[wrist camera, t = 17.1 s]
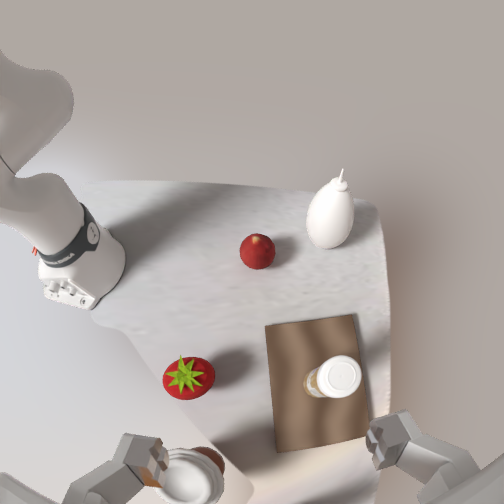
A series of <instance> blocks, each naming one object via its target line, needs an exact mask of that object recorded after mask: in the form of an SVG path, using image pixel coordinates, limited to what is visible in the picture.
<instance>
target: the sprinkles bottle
mask: <svg viewBox="0 0 504 504" xmlns="http://www.w3.org/2000/svg"><path fill="white" fill-rule="evenodd" d="M361 378H362V372H361V368H360V366H359V364H358V363H357V362H356V361H355V360H354V359H353V358H351V357H349V356H345V355H339V356H335V357H332V358H330V359H328V360H327V361H325V362H324V363H323V364H322V365H321V366H320V367H318V368H316V369H313V370H311V371H310V372H309V373H308V374H307V375H306V376H305V378H304V383H303V385H304V389H305V391H306V392H307V393H308V395H310V396H312V397H315V398H320V397H331V398H342V397H346V396H349V395H351V394H352V393H353V392H355V391H356V389H357V388H358V387H359V385H360V382H361Z"/></svg>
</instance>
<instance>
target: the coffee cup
mask: <svg viewBox="0 0 504 504" xmlns="http://www.w3.org/2000/svg"><path fill="white" fill-rule="evenodd" d="M167 451H168V454H169V466H168V469H166V470H165V471H164V474H165V475H166V479H165V483H164V487H163V488H157V487H154V489H155V491H156V493H158V495H159V496H160V497H161V498H162V499H163V500H164V501H165V502H167V503H169V504H215V503H217V502H218V500H219V498H220V497H221V495H222V493H223V492H224V478H223V473H224V470H225V463H224V461H223V458H222V456H221V455H220V454H218V453H217V452H216V451H214V450H213V449H211V448H208V447H196V448H192V449H183V448H177V449H172V450H167Z"/></svg>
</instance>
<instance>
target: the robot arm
mask: <svg viewBox="0 0 504 504" xmlns="http://www.w3.org/2000/svg"><path fill="white" fill-rule="evenodd" d="M73 106H74V99H73V93H72V89H71V87H70V85H69V83H68V81H67V80H66V79H65V78H64V77H63V76H62V75H60V74H59V73H57V72H54V71H50V70H35V69H29V68H25V67H22V66H20V65H18V64H16V63H14V62H12V61H11V60H9V59H8V58H7V57H6V56H5V55H4V54H3V53H2V51H1V50H0V223H2V224H5V225H7V226H9V227H11V228H13V229H15V230H16V231H18V232H19V233H20V234H21V235H22V236H23V237H25V238H26V239H27V240H28V241H29V242H30V243H31V244H32V245H34V248H33V251H32V253H33V252H34V250H35V255H36V253H37V251H38V252H39V254H40V256H41V257H40V261H39V267H38V275H39V278H40V280H41V281H42V282H43V291H44V296H45V297H46V298H47V299H50V300H53V301H56V302H60V303H63V304H67V305H70V306H74V307H78V308H82V309H85V310H91V309H93V308H94V307H95V305H96V304H97V302H98V301H99V299H100V298H101V297H102V296H104V295H105V294H106V293H108V292H109V291H110V290H111V289H112V288H113V287H114V286H115V285H116V283H117V282H118V281H119V279H120V277H121V275H122V273H123V270H124V266H125V251H124V249H123V247H122V245H121V244H120V243H119V242H118V241H117V240H115V239H114V238H113V237H112V236H111V234H110V232H109V231H108V230H107V229H106V228H103V227H102V226H101V225H100V224H99V223H98V222H97V221H96V220H95V219H94V218H93V216H92V215H91V214H90V212H89V211H88V209H87V208H86V207H85V206H84V205H83V204H82V203H80V202H79V201H78V200H77V199H76V197H75V196H74V194H73V193H72V191H71V190H70V188H69V187H68V185H67V184H66V183H65V181H64V179H63V178H61V177H60V176H58V175H56V174H53V173H42V174H38V175H35V176H32V177H29V178H17V177H15V175H16V173H17V172H18V171H19V170H20V169H21V168H22V167H23V166H24V165H25V164H26V163H27V162H28V161H29V160H30V159H31V158H32V157H33V156H35V154H37V153H38V152H39V151H40V150H41V149H43V148H44V147H45V146H46V145H47V144H48V143H50V141H51V140H52V139H53V138H54V137H55V136H56V135H57V133H59V131H60V130H61V129H62V128H63V127H64V126H65V125H66V124H67V123H68V122H69V121H70V119H71V116H72V112H73ZM84 302H85V304H84ZM369 426H370V429H369V430H368V431H367V433H366V445H367V448H368V451H369V452H371V453H373V454H374V455H373V457H372V461H373V463H374V466H375V468H376V471H377V470H380V469H383V468H387V467H389V466H393V465H396V466H397V467H399V468H400V469H402V470H403V471H404V472H406V473H408V474H409V475H411V476H412V477H414V478H416V479H417V480H419V481H420V482H422V483H423V484H425V486H424V487H423V488H422V489H421V491H419V493H418V494H417V497H418V499H419V502H420V504H504V453H503V454H502V455H501V456H500V457H498V458H497V459H496V460H494V461H493V462H492V463H490V464H489V465H488V466H486V467H485V468H484V469H482V470H480V469H479V467H478V466H477V464H476V462H475V461H474V459H473V458H472V456H471V455H470V453H469V452H468V451H467V450H464V449H462V448H459V447H457V446H454V445H452V444H449V443H447V442H444V441H442V440H439V439H437V438H435V437H432V436H430V435H428V434H424V435H423V434H422V432H421V431H420V429H419V428H418V426H417V424H416V423H415V421H414V420H413V418H412V417H411V415H410V413H409V412H408V410H406V409H404V410H401V411H398V412H395V413H391V414H388V415H385V416H382V417H379V418H375V419H372V420H371V421H370V424H369ZM162 444H163V442H162V441H161V439H160V438H155V437H146V436H140V435H135V434H128V433H125V434H124V435H123V436H122V437H121V440H120V442H119V445H118V447H117V449H116V452H115V454H114V456H113V459H112V461H107V462H105V463H104V464H102V465H101V466H99V467H97V468H96V469H94V470H93V471H91V472H89V473H88V474H86V475H84V476H83V477H81V478H79V479H78V480H76V481H74V482H73V483H71V485H70V487H69V489H68V491H67V493H66V495H65V498H64V500H63V502H62V504H126V503H127V502H128V501H129V500H130V499H131V498H132V497H134V496H135V495H136V494H137V493H138V492H139V491H140V490H141V489H142V488H143V487H144V486H150V487H157V488H163V487H164V483H165V479H166V475H165V474H164V471H165V470H166V469H168V466H169V454H168V451H167V450H166V448H164V447H163V446H162ZM0 504H59V503H57V502H55V501H53V500H51V499H49V498H47V497H45V496H44V495H42V494H40V493H38V492H36V491H35V490H33V489H31V488H30V487H28V486H26V485H25V484H23V483H21V482H20V481H18V480H17V479H15V478H14V477H12V476H11V475H9V474H7V473H5V472H1V473H0Z"/></svg>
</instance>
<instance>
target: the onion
mask: <svg viewBox="0 0 504 504" xmlns="http://www.w3.org/2000/svg"><path fill="white" fill-rule="evenodd" d="M275 254H276V253H275V246H274V244H273V242H272V241H271V239H270V238H269V237H267V236H265V235H262V234H257V233H256V234H251V235H250V236H248V237H247V238H246V239H245V240H244V241H243V242H242V244H241V247H240V257H241V259H242V261H243V262H244V264H245V265H247V266H248V267H249V268H252V269H256V270H257V269H264V268H266V267H268V266H269V265H270V264H271V263H272V262H273V259H274V257H275Z"/></svg>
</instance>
